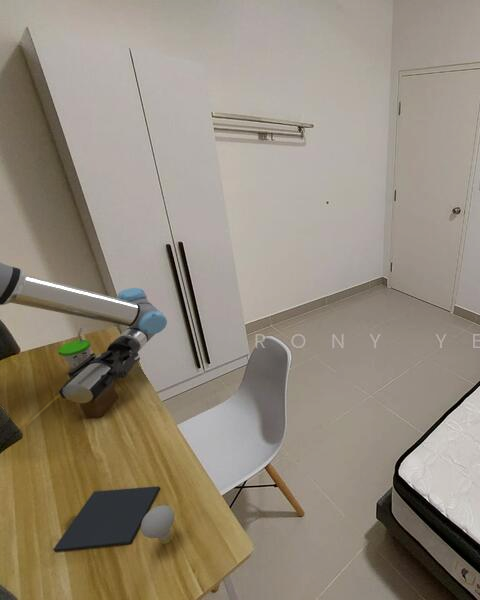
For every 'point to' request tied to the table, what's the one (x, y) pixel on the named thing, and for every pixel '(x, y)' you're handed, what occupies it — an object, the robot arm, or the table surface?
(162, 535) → the light bulb
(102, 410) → the dark brown wooden block
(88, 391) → the pot
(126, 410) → the table surface
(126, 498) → the mat
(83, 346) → the cup
